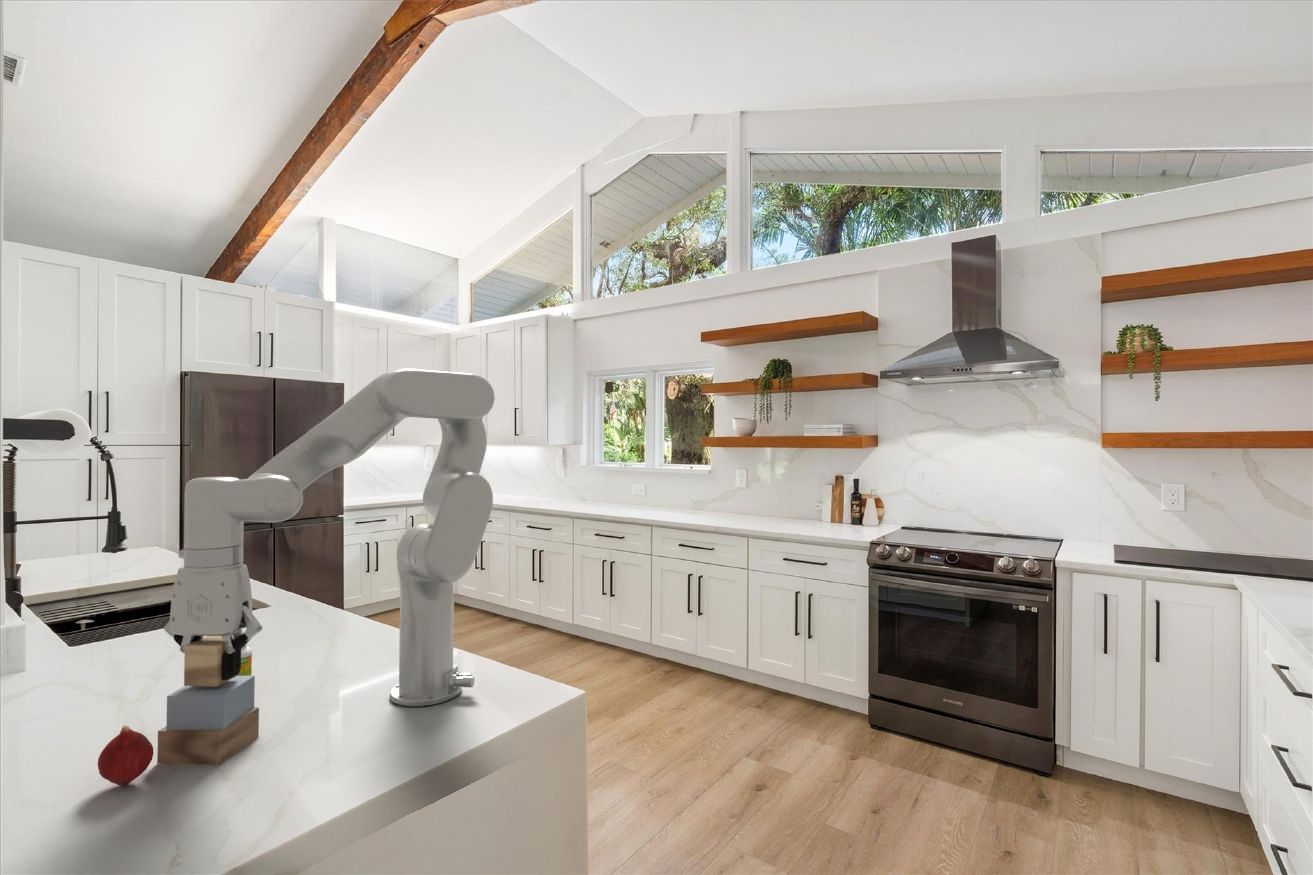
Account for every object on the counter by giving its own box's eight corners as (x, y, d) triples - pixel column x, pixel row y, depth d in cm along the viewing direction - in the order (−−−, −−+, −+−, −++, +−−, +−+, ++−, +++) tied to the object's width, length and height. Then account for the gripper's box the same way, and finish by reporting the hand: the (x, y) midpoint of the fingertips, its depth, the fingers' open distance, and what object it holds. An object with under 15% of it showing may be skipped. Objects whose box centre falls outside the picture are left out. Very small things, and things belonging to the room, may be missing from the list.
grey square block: (254, 707, 102) (254, 675, 102) (223, 729, 94) (223, 695, 94) (201, 707, 101) (202, 676, 101) (166, 730, 93) (167, 696, 93)
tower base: (258, 738, 102) (259, 707, 102) (216, 767, 93) (217, 732, 93) (203, 737, 102) (204, 705, 102) (157, 765, 93) (157, 730, 93)
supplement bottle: (234, 696, 118) (235, 643, 118) (210, 693, 119) (210, 641, 119) (258, 685, 123) (258, 634, 124) (234, 683, 124) (235, 633, 125)
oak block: (216, 686, 95) (217, 646, 95) (184, 685, 96) (184, 645, 96) (239, 674, 100) (240, 635, 100) (209, 673, 101) (209, 635, 101)
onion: (163, 773, 90) (164, 716, 90) (130, 796, 84) (131, 735, 85) (120, 774, 90) (121, 717, 90) (85, 796, 84) (86, 735, 84)
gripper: (139, 561, 95) (138, 684, 95) (251, 562, 94) (250, 687, 94) (179, 552, 102) (178, 667, 102) (283, 554, 101) (282, 669, 101)
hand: (212, 675), depth 98 cm, fingers closed on oak block, 5 cm apart
